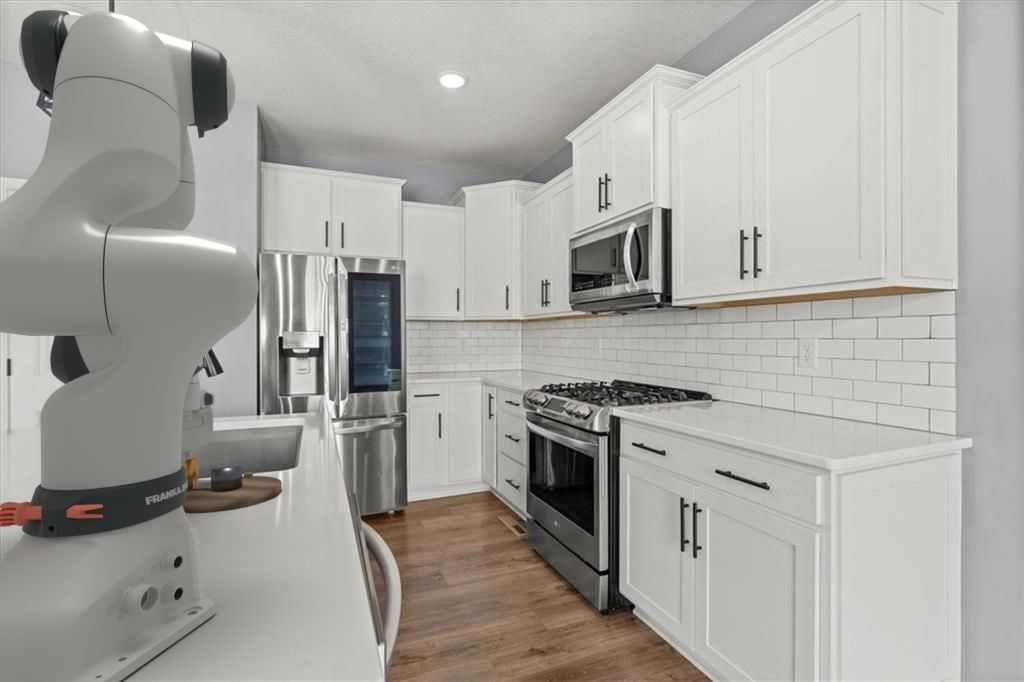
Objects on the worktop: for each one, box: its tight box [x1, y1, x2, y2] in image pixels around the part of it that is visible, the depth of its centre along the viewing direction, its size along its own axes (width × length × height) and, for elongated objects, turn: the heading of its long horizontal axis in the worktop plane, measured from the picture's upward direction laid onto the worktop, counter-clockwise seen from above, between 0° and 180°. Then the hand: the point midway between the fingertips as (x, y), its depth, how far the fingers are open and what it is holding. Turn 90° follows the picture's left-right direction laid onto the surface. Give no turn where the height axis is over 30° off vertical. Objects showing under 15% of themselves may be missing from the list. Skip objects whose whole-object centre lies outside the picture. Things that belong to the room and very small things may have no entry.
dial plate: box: [183, 472, 283, 514], centre depth 94 cm, size 18×18×2 cm
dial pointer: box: [183, 456, 244, 491], centre depth 94 cm, size 10×5×5 cm, turn 92°
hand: (170, 482), depth 88 cm, fingers closed
